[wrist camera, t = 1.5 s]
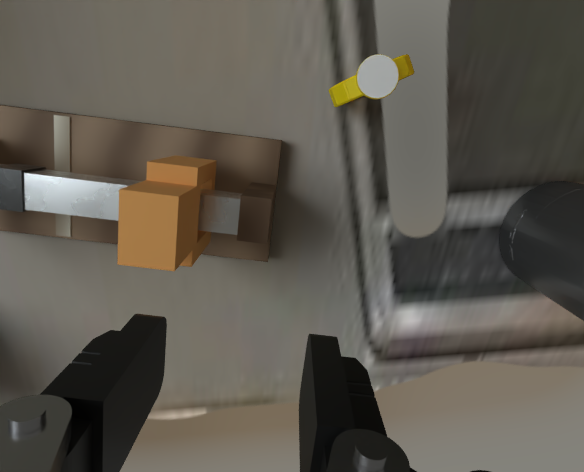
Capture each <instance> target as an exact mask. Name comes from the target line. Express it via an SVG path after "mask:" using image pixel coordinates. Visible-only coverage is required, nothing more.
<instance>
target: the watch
mask: <svg viewBox="0 0 584 472" xmlns="http://www.w3.org/2000/svg"><path fill="white" fill-rule="evenodd" d="M412 74H414V70H413V66H412V64H411V61H410V57H409V55H407V54H406V55H402V56H399V57H397V58H394V59H391V58H390V57H388V56H385V55H380V54H376V55H373V56H370V57H368V58H367V59H365V60H364V61H363V62H362V64H361V65H360V66H359V68H358V70H357V73H356V75H355V76H353V77H351V78H349V79H346V80H345V81H342V82H340V83H339V84H337V85H335V86H333V87H331V88H330V89H329V93H330V96H331V98H332V101H333V104H334V106H335V107H338V106H341V105H343V104H346V103H348V102H350V101H353V100H355V99H357V98H360V97H362V96H365V97H367V98H370V99H381V98H384V97H386V96H388V95H390V94H391V93H392V92H393V91H394V89H395V88H396V86H397V83H398V81H399V80H401V79H404V78H406V77H408V76H410V75H412Z"/></svg>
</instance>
